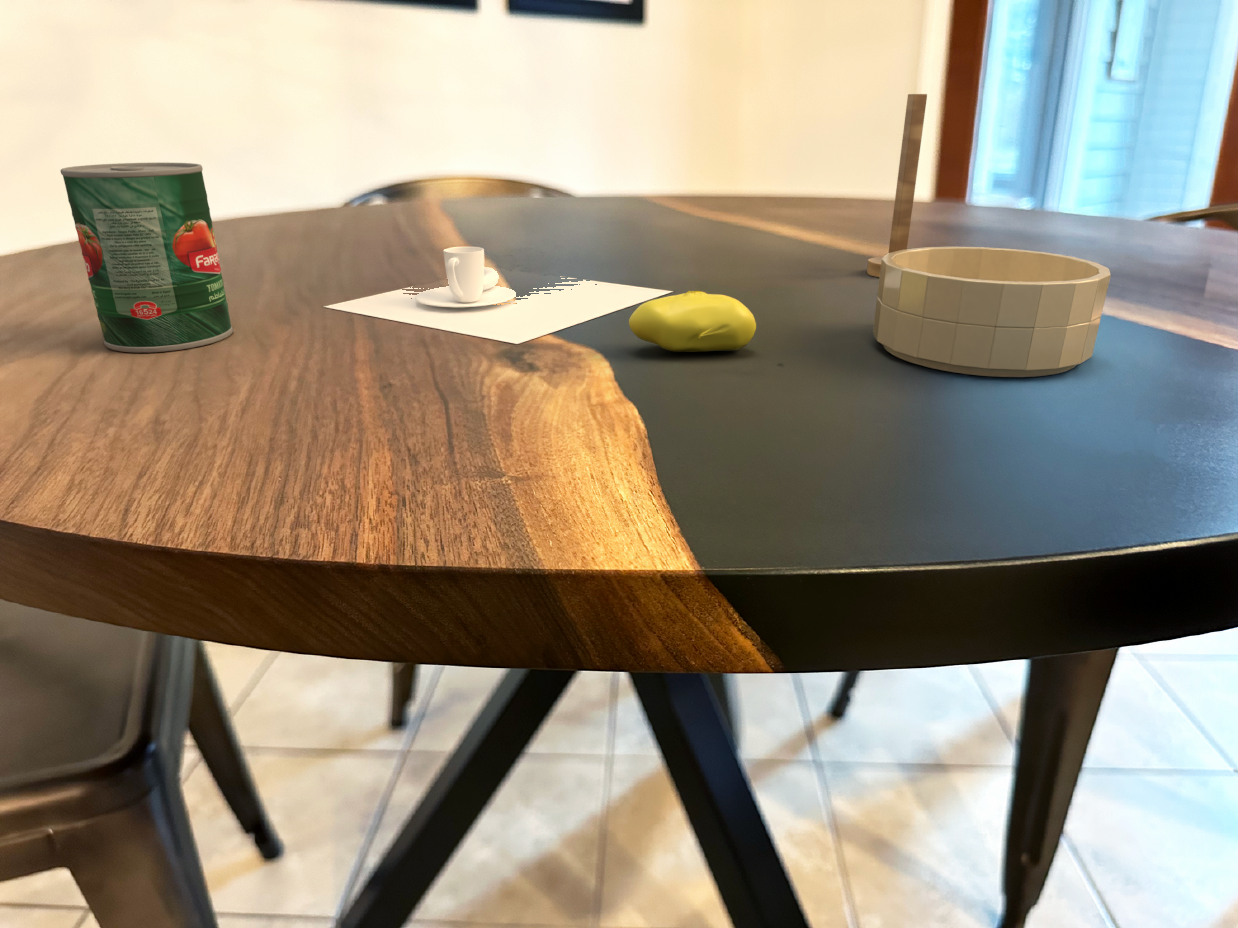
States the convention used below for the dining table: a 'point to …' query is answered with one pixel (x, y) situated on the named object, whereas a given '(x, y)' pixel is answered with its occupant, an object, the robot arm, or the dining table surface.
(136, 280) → the canned tomato
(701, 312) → the lemon
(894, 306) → the bowl
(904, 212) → the flat wooden stick
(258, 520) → the dining table surface
